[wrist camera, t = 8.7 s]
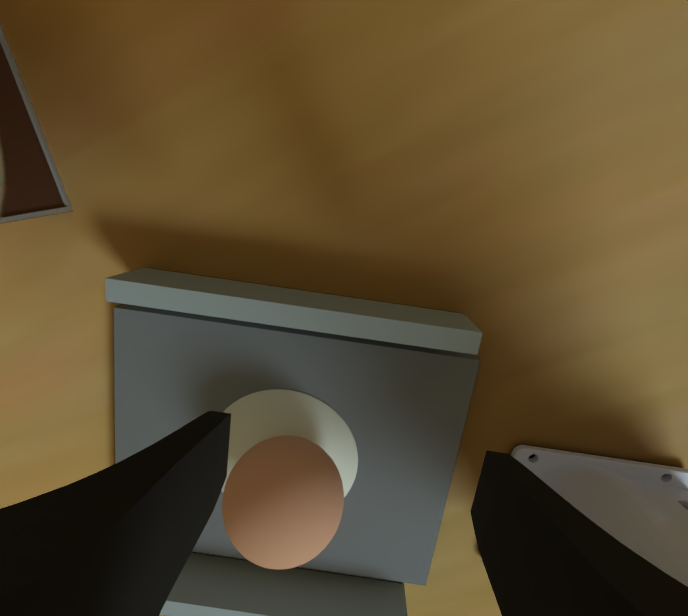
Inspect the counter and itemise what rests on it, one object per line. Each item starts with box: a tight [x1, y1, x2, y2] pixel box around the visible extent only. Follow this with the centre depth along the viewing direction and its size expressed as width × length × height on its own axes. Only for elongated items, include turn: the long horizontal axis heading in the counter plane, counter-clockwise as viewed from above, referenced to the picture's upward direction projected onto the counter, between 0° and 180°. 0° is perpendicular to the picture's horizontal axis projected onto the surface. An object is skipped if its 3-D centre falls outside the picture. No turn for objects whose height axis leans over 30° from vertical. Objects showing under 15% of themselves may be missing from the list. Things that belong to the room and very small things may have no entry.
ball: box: [222, 436, 344, 570], centre depth 18 cm, size 6×6×6 cm
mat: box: [114, 304, 480, 586], centre depth 21 cm, size 18×14×1 cm
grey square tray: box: [105, 268, 483, 616], centre depth 20 cm, size 16×18×3 cm
